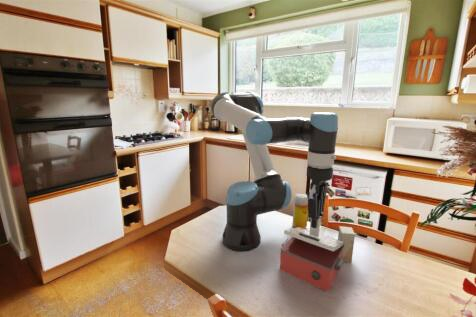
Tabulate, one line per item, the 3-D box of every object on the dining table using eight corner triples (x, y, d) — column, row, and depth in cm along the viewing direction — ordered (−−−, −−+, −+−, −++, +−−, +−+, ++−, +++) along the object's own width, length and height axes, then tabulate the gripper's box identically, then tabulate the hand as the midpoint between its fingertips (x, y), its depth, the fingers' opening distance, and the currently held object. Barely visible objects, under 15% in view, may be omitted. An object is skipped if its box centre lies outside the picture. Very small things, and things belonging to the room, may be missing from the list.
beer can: (308, 230, 106) (310, 198, 102) (293, 230, 106) (296, 198, 102) (304, 223, 112) (307, 192, 108) (291, 223, 112) (293, 192, 108)
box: (351, 263, 86) (355, 234, 83) (338, 261, 86) (341, 233, 84) (348, 253, 91) (351, 226, 88) (335, 252, 91) (339, 225, 89)
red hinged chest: (274, 269, 83) (275, 248, 81) (293, 247, 94) (294, 228, 92) (332, 295, 72) (335, 272, 70) (345, 267, 83) (348, 247, 81)
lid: (283, 233, 80) (284, 228, 80) (299, 230, 91) (300, 225, 91) (333, 251, 71) (334, 245, 71) (343, 245, 82) (344, 240, 83)
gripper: (326, 172, 67) (319, 249, 73) (339, 162, 77) (332, 229, 83) (299, 168, 71) (295, 240, 77) (315, 158, 81) (310, 223, 87)
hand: (314, 234), depth 80 cm, fingers closed
